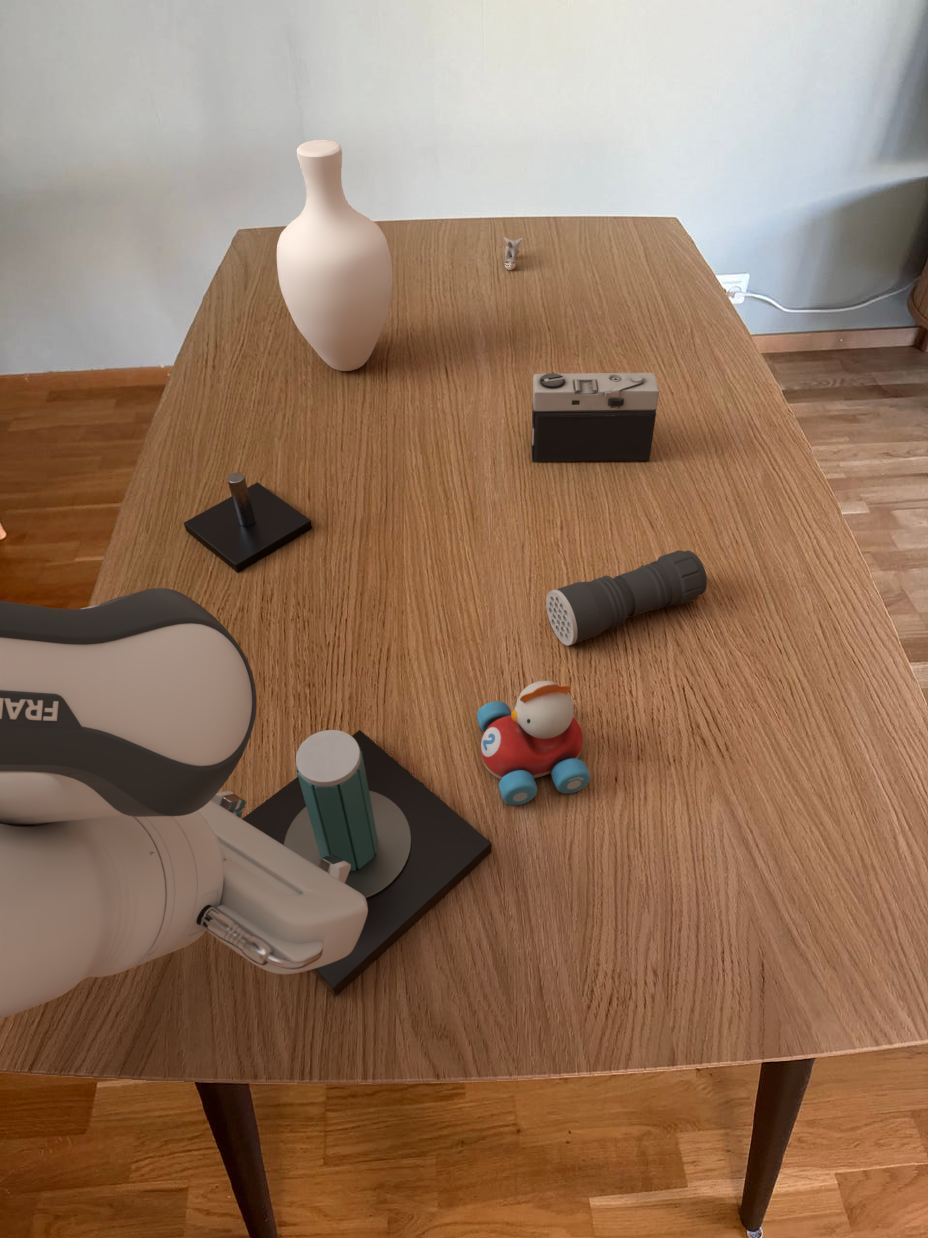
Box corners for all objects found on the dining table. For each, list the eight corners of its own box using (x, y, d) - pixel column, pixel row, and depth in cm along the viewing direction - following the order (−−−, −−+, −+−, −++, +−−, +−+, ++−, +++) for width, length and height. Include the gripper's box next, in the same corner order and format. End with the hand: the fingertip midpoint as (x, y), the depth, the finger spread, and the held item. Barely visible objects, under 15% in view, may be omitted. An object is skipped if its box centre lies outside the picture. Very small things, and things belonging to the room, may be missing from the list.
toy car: (469, 726, 81) (466, 651, 74) (563, 706, 82) (569, 630, 75) (495, 812, 75) (495, 739, 68) (597, 789, 76) (607, 715, 69)
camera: (643, 424, 113) (652, 350, 106) (650, 463, 107) (661, 389, 100) (530, 424, 114) (532, 351, 107) (531, 464, 108) (533, 390, 101)
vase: (359, 403, 118) (330, 177, 98) (273, 375, 124) (229, 156, 104) (420, 353, 126) (405, 136, 106) (337, 329, 132) (308, 118, 112)
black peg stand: (238, 573, 96) (223, 520, 91) (185, 530, 101) (169, 478, 96) (312, 528, 101) (302, 475, 96) (259, 490, 106) (247, 438, 101)
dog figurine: (521, 277, 147) (524, 240, 146) (518, 263, 139) (520, 225, 138) (501, 276, 147) (504, 240, 147) (497, 262, 139) (499, 224, 139)
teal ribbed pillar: (344, 882, 69) (322, 793, 60) (309, 846, 71) (282, 755, 63) (388, 845, 71) (373, 754, 62) (352, 811, 73) (332, 719, 65)
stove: (335, 997, 65) (332, 987, 63) (209, 856, 73) (203, 844, 72) (492, 852, 72) (491, 841, 71) (361, 739, 81) (359, 727, 79)
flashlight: (676, 573, 94) (684, 534, 90) (707, 607, 91) (716, 567, 87) (544, 619, 90) (547, 579, 86) (571, 656, 87) (574, 616, 83)
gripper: (305, 921, 46) (425, 868, 59) (40, 747, 54) (196, 733, 67) (262, 1030, 47) (390, 955, 59) (7, 842, 55) (167, 811, 68)
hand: (286, 836), depth 63 cm, fingers open, 8 cm apart
